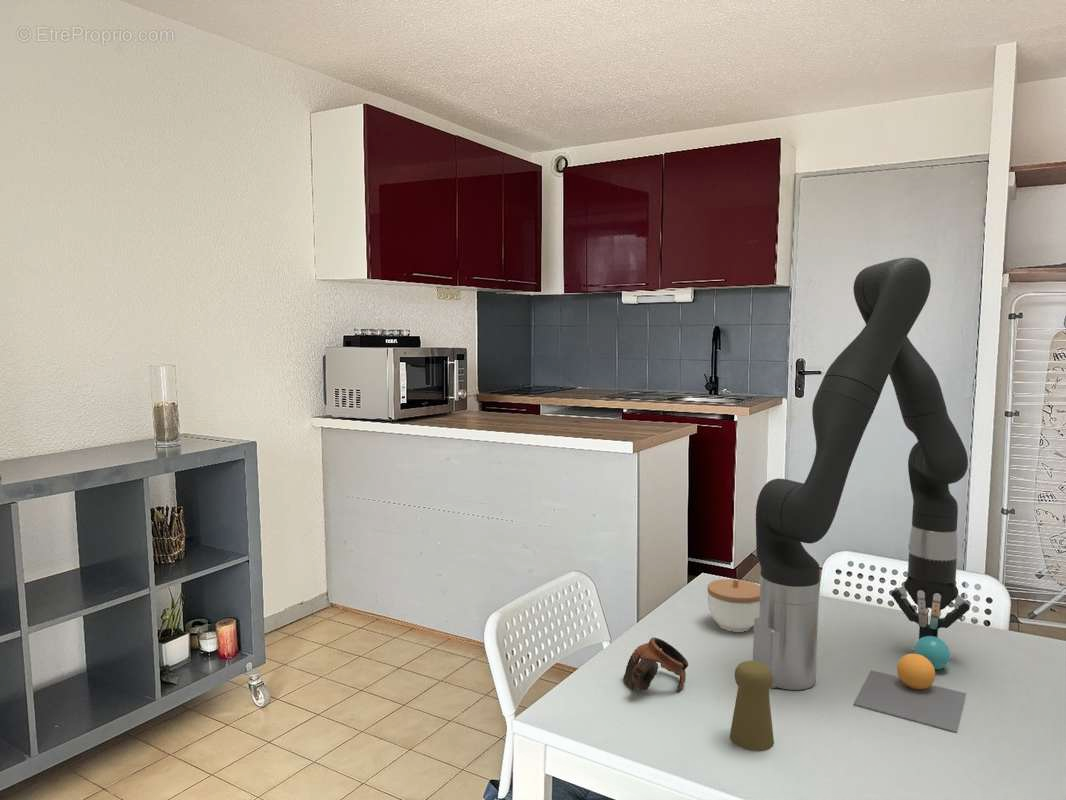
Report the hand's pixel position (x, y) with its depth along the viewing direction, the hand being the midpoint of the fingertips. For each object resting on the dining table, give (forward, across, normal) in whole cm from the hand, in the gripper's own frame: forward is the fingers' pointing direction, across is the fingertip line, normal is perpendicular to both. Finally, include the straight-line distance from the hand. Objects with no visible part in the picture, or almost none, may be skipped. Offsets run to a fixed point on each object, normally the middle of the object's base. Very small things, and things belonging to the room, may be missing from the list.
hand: (927, 646), depth 133 cm
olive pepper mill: (+2, +17, +46) cm, 49 cm away
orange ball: (-1, 0, +15) cm, 15 cm away
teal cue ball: (-1, -1, +6) cm, 6 cm away
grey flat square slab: (+2, 0, +20) cm, 20 cm away
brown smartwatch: (+2, +35, +39) cm, 53 cm away
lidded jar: (+2, +33, +7) cm, 34 cm away
